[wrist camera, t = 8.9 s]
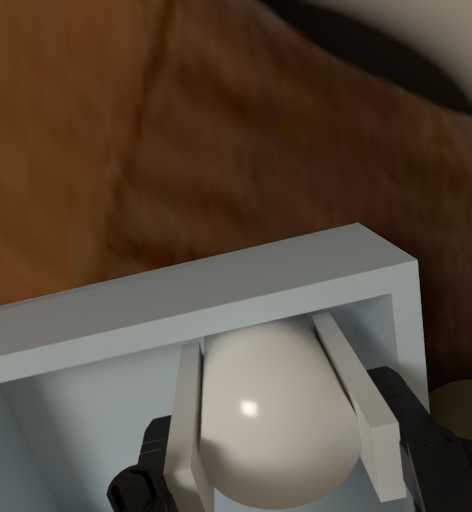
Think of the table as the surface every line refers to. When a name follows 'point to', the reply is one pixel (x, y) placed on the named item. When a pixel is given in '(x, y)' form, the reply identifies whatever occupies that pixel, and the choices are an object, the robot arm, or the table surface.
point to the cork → (453, 407)
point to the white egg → (274, 416)
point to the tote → (169, 351)
